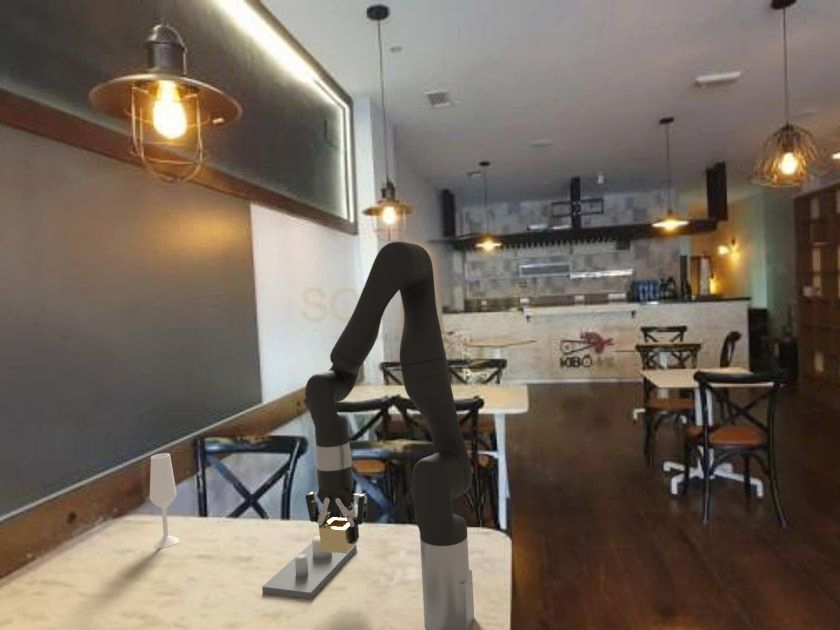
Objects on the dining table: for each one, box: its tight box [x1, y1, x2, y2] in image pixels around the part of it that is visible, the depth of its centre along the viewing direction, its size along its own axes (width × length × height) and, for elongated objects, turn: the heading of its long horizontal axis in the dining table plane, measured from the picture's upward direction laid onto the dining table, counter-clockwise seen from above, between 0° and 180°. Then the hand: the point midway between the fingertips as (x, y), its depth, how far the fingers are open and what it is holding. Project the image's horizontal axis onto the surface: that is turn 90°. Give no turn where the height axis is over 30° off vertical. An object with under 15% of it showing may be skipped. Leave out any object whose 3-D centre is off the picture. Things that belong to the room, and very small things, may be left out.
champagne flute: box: [149, 452, 180, 549], centre depth 156 cm, size 7×7×24 cm
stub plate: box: [261, 534, 358, 600], centre depth 136 cm, size 12×24×6 cm, turn 162°
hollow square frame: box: [318, 517, 359, 553], centre depth 124 cm, size 6×6×5 cm
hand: (339, 541), depth 124 cm, fingers closed on hollow square frame, 6 cm apart
